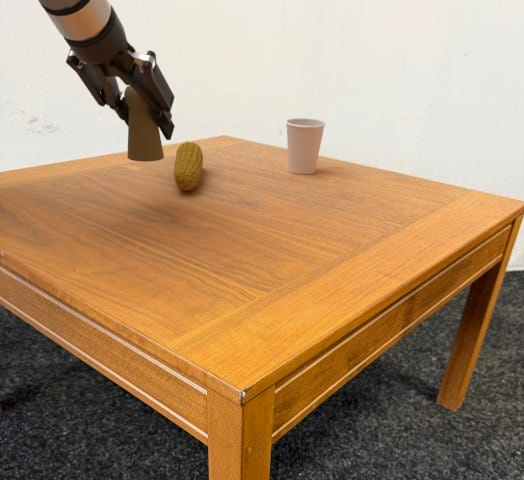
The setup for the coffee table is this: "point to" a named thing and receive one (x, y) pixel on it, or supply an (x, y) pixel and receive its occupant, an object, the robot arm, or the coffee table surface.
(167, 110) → the robot arm
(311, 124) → the dixie cup
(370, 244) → the coffee table surface
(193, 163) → the food
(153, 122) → the cork
